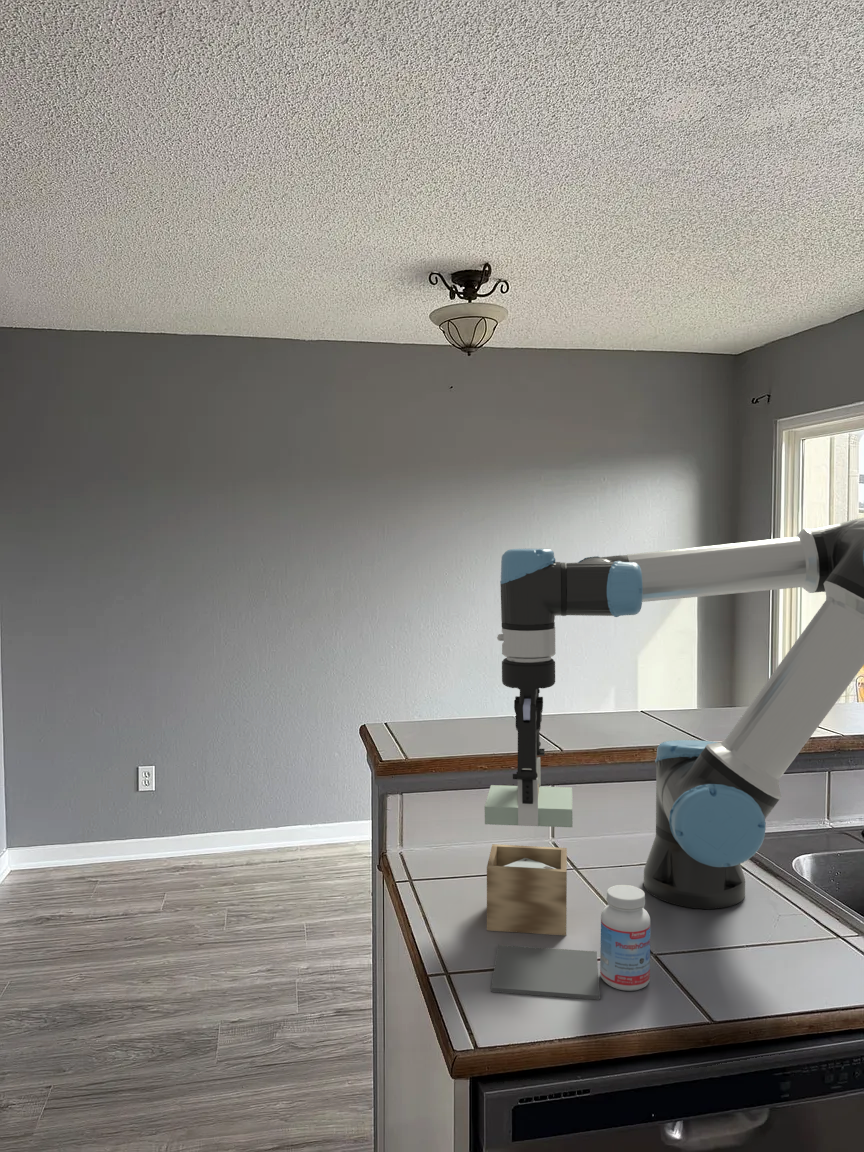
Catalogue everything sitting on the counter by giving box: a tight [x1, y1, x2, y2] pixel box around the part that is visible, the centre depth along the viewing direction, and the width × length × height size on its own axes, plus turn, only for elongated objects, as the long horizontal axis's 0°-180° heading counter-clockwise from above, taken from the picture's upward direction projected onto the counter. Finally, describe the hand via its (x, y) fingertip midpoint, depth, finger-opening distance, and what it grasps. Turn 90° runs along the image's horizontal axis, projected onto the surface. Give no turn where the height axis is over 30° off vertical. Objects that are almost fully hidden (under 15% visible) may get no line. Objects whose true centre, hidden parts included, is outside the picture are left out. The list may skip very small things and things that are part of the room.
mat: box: [490, 944, 601, 1001], centre depth 112 cm, size 13×11×1 cm
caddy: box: [486, 843, 568, 936], centre depth 127 cm, size 11×9×9 cm
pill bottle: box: [599, 884, 651, 992], centre depth 110 cm, size 6×6×11 cm
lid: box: [484, 784, 573, 828], centre depth 126 cm, size 12×10×4 cm
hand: (529, 812), depth 127 cm, fingers closed on lid, 10 cm apart
